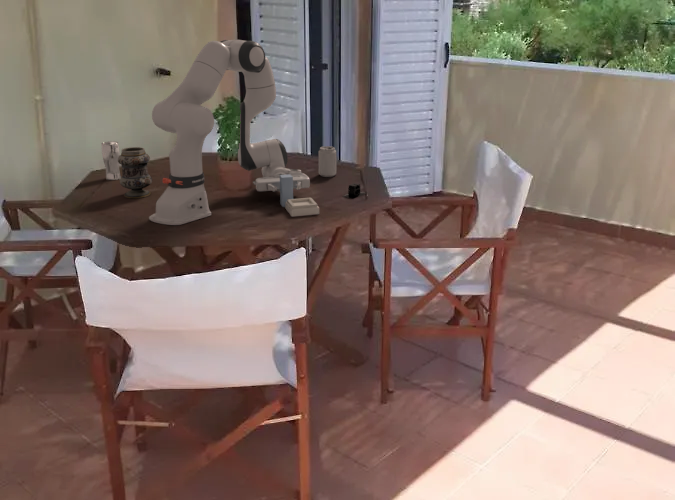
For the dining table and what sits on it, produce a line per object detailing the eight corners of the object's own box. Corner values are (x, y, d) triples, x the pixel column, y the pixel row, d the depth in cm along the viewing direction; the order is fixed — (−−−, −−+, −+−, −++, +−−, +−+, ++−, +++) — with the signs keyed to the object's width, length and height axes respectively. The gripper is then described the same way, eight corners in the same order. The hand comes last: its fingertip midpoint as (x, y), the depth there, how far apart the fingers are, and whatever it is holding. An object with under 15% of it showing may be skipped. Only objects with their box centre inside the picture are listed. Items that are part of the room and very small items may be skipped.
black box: (353, 201, 280) (353, 189, 278) (337, 198, 284) (337, 186, 282) (370, 193, 289) (370, 182, 288) (354, 191, 293) (355, 179, 292)
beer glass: (121, 175, 314) (118, 140, 308) (122, 179, 307) (119, 144, 302) (104, 177, 312) (100, 141, 306) (105, 181, 305) (101, 145, 300)
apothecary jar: (152, 189, 293) (148, 144, 287) (154, 197, 283) (150, 151, 276) (120, 192, 290) (115, 146, 284) (121, 200, 279) (116, 153, 273)
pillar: (293, 206, 272) (292, 176, 268) (282, 207, 271) (281, 177, 267) (290, 203, 276) (290, 174, 272) (280, 203, 275) (279, 175, 271)
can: (339, 175, 313) (339, 147, 309) (325, 178, 309) (324, 150, 305) (329, 172, 319) (329, 144, 315) (315, 174, 315) (315, 146, 311)
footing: (319, 214, 263) (319, 204, 262) (291, 216, 260) (291, 207, 259) (312, 206, 272) (312, 197, 271) (285, 208, 269) (285, 199, 268)
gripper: (251, 173, 279) (258, 182, 267) (304, 169, 284) (313, 178, 272) (252, 189, 281) (259, 199, 269) (304, 185, 287) (313, 194, 274)
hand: (286, 188), depth 270 cm, fingers open, 7 cm apart
